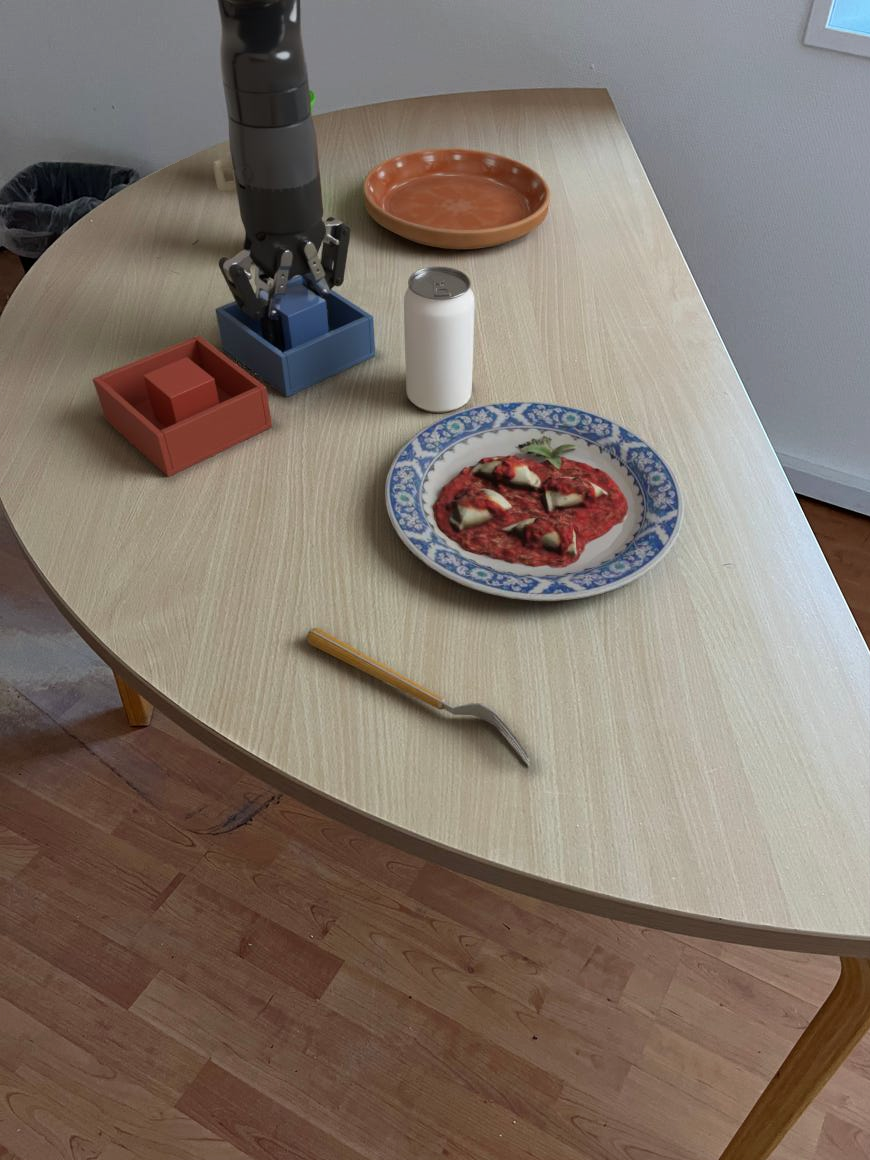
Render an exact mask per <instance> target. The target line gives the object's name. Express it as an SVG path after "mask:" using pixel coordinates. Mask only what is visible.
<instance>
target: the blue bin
mask: <svg viewBox="0 0 870 1160" xmlns="http://www.w3.org/2000/svg"><path fill="white" fill-rule="evenodd" d="M295 283H300V284H301V285H303V286H304V287H306V285H305V283H304V281H303V279H302V277H301V275H297V276H294V277H293V278H292V279H290V280H289V281H287V287H288V286H290V285H293V284H295ZM306 288H307V287H306ZM307 289H308V288H307ZM254 293H255V295H256V292H254ZM328 306H329V317H330V319H329V324H328V328H329V332H328V333H326V334H324V335H322V336H319V337H317V338H315V339H313V340H310V341H308V342H306V343H303V344H301V345H299V346H297V347H294V348H292V349H290V350H288V351H283V350H281V351H280V350H278V349H277V348H275V347H274V346H273V345H271V344H270V343H269V342H267V341H266V340H264V339H263V336H262V329H261V323H260V320H257V321H256V320H254V319H253V318H251V316H249V315H248V314H247V313H245V312H243V311H242V310H240V309H239V307H238V305H237V303H236V301H235V300H234V301H232V302H229V303H227V304H224V305H222V306H220V307H217V308H216V307H215V309H214V311H215V316H216V321H217V326H218V331H219V336H220V342H221V347H222V350H224V351H225V352H227V354H229V355H231V356H232V357H233V358H235V359H236V361H238V362H240V363H241V364H242V365H243V366H245V367H246V368H247V369H249V370H250V371H252V373H254V374H255V375H257V376H258V377H259V378H261V379H262V380H263V381H265V382H266V383H267V384H269V385H270V386H271V387H272V388H274V389H275V390H277V391H278V392H279V393H280V394H282V395H283V396H284V397H286V398H289V397H290V396H292V395H295V394H297V393H299V392H301V391H303V390H305V389H308V388H310V387H312V386H314V385H316V384H318V383H320V382H323V381H324V380H328V379H329V378H332V377H333V376H335V375H337V374H339V373H342V372H344V371H346V370H349V369H350V368H352V367H354V366H357V365H359V364H361V363H363V362H365V361H367V360H369V359H371V358H373V357H375V356H376V343H375V324H374V323H375V322H374V316H373V315H372V314H370V313H369V312H367V311H365V309H362V308H361V307H359V306H358V305H356V304H354V303H353V302H352V301H350V300H349V299H347V298H346V297H344V296H343V295H341V294H339V293H338V292H337V291H335V290H333V288H332V289H331V290H330V294H329V296H328Z"/></svg>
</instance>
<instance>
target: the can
mask: <svg viewBox="0 0 870 1160" xmlns="http://www.w3.org/2000/svg"><path fill="white" fill-rule="evenodd" d="M407 285H408V286H407V288H406V290H405V293H404V296H403V322H404V323H403V324H404V326H403V329H404V353H405V354H404V358H405V359H404V361H405V362H404V364H405V389H406V390H405V391H406V396H407V398H408V400H409V401H410V402H411V403H412V405H414V406H415V407H417V408H419V409H420V410H422V411H424V412H429V413H433V414H435V413H436V414H445V413H450V412H454V411H456V410H459V409H461V408H462V407H463V406H464V405H465V404H467V403H468V402H469V401H470V399H471V397H472V392H473V372H474V371H473V368H474V367H473V365H474V342H475V341H474V339H475V338H474V337H475V295H474V293H473V289H472V288H471V285H472V284H471V279H470V278H469V276H468V275H467V274H466V273H464V272H462V271H461V270H459V269H456V268H453V267H449V266H428V267H424V268H421V269H418V270H416V271H415V272H413V273H412V274H411V275H410V276H409V277H408V281H407Z"/></svg>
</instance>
